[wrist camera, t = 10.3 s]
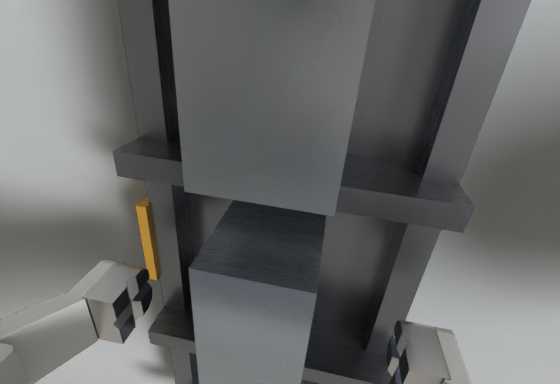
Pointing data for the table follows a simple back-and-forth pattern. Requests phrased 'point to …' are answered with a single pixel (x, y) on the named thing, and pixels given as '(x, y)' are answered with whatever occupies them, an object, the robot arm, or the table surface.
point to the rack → (310, 146)
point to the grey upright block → (256, 294)
